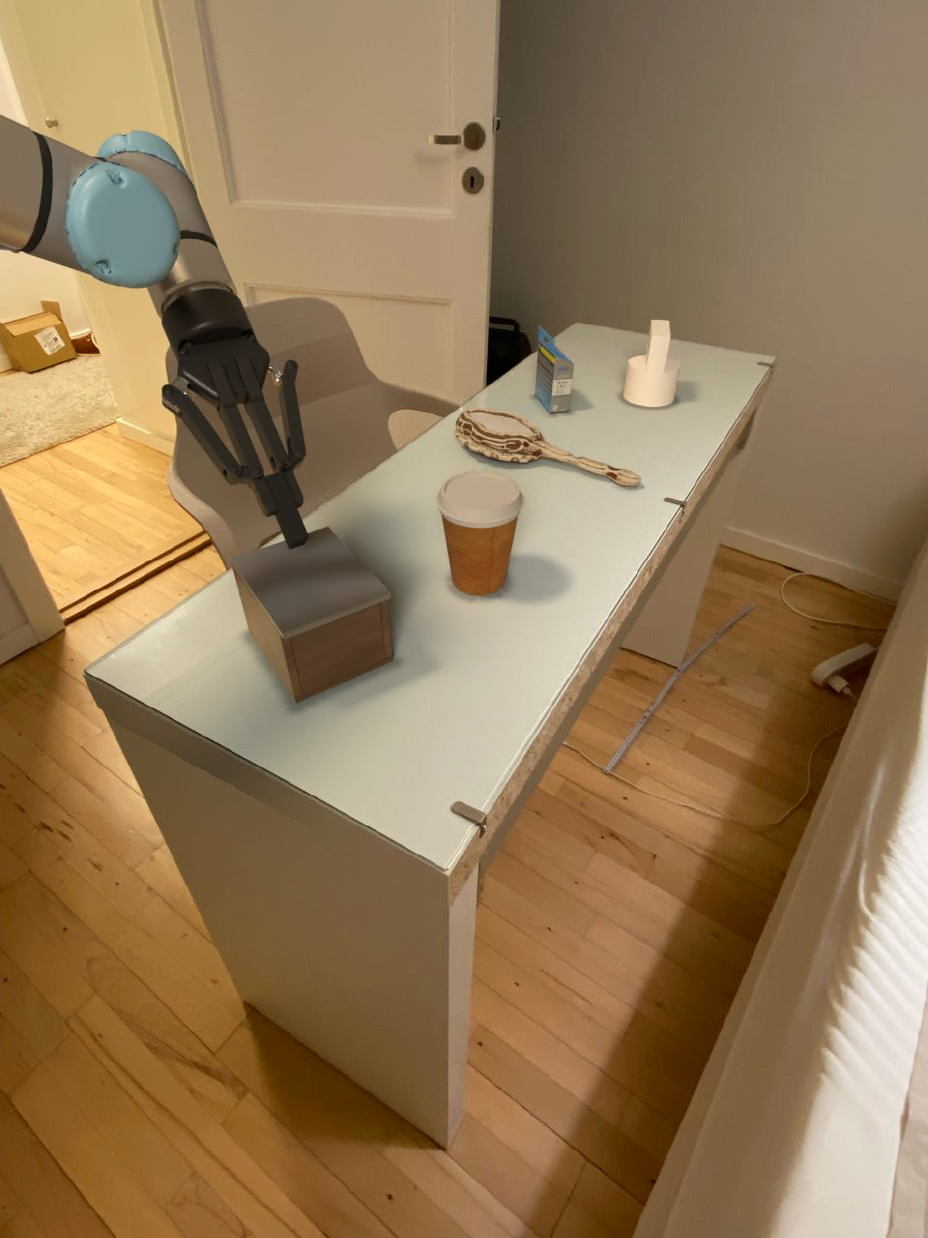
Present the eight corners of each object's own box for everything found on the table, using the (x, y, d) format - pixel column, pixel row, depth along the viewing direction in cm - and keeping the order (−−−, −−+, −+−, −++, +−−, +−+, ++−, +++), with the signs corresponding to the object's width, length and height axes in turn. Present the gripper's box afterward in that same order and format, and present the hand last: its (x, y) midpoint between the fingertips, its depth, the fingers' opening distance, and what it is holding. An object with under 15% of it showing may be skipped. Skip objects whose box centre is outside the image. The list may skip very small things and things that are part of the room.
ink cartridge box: (570, 412, 118) (577, 338, 110) (549, 414, 117) (555, 340, 109) (553, 392, 124) (559, 322, 117) (533, 394, 124) (537, 323, 116)
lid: (391, 598, 63) (390, 591, 63) (283, 640, 59) (282, 633, 58) (329, 532, 72) (328, 526, 71) (231, 564, 67) (229, 558, 67)
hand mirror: (628, 490, 92) (439, 423, 101) (621, 521, 96) (441, 455, 106) (657, 445, 97) (474, 386, 107) (649, 476, 102) (475, 417, 111)
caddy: (393, 661, 70) (386, 593, 64) (295, 704, 65) (279, 634, 59) (339, 598, 78) (329, 533, 72) (249, 632, 73) (231, 565, 67)
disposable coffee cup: (445, 554, 84) (443, 465, 77) (522, 559, 83) (527, 471, 76) (431, 600, 77) (428, 508, 70) (515, 608, 76) (521, 515, 69)
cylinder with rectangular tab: (623, 385, 127) (633, 318, 119) (673, 389, 126) (686, 321, 118) (622, 404, 120) (633, 334, 113) (674, 408, 119) (689, 337, 111)
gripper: (262, 320, 69) (352, 533, 69) (129, 343, 64) (227, 575, 64) (272, 274, 62) (372, 510, 62) (124, 295, 57) (233, 555, 57)
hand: (299, 543), depth 63 cm, fingers closed
